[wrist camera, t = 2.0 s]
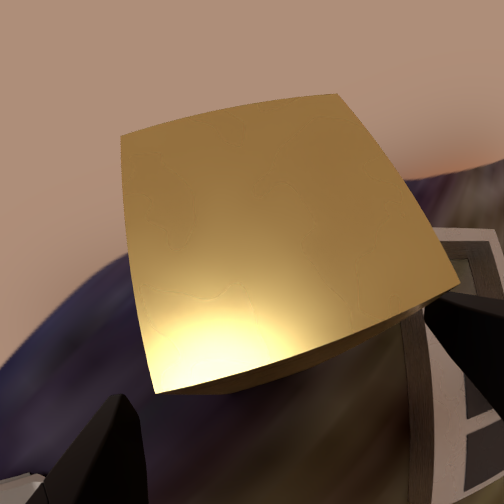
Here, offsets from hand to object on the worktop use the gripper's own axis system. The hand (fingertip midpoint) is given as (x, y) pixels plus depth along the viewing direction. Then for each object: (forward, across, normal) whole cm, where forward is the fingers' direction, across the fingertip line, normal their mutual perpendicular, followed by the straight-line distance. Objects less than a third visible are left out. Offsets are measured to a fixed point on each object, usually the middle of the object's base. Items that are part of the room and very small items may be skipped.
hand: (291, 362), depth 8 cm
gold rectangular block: (+9, 0, +6) cm, 10 cm away
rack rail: (+4, -12, +10) cm, 17 cm away
